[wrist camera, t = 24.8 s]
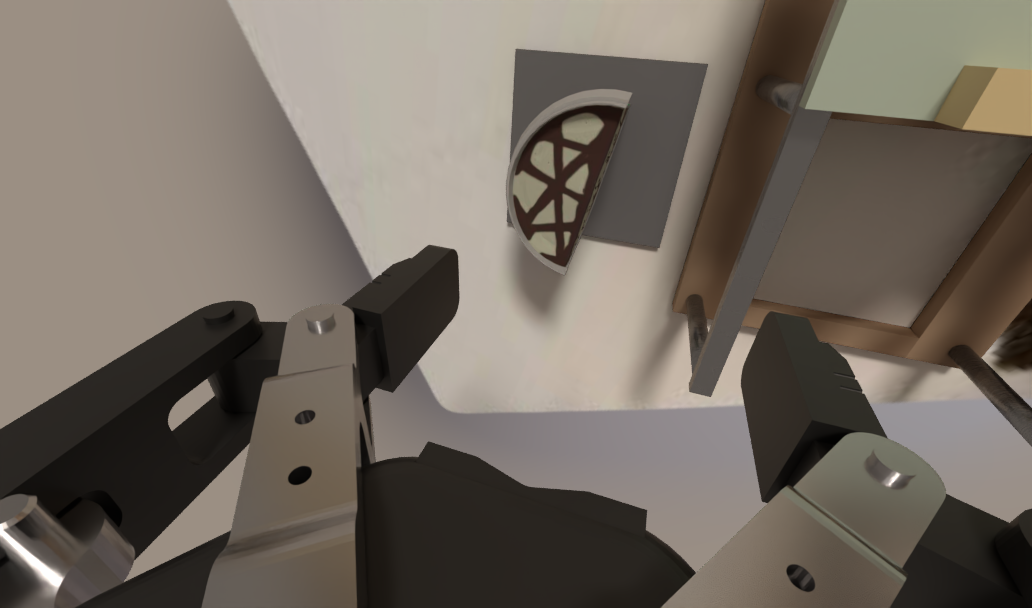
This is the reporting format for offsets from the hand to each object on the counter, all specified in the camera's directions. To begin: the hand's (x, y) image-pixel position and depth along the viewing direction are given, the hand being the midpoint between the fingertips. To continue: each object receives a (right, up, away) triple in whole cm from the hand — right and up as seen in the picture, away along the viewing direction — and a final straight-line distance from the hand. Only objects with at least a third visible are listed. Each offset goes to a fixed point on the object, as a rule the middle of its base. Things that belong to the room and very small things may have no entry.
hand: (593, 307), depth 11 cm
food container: (+3, +13, +24) cm, 27 cm away
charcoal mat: (+4, +13, +24) cm, 27 cm away
